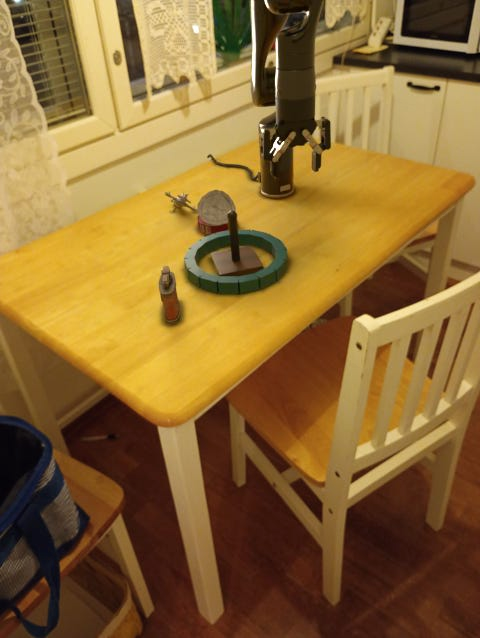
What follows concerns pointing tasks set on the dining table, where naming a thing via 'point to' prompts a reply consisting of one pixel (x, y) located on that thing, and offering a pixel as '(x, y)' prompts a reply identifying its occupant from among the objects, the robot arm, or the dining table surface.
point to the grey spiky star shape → (180, 201)
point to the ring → (231, 282)
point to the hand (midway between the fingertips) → (295, 174)
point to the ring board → (236, 266)
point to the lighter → (169, 296)
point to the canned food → (214, 212)
